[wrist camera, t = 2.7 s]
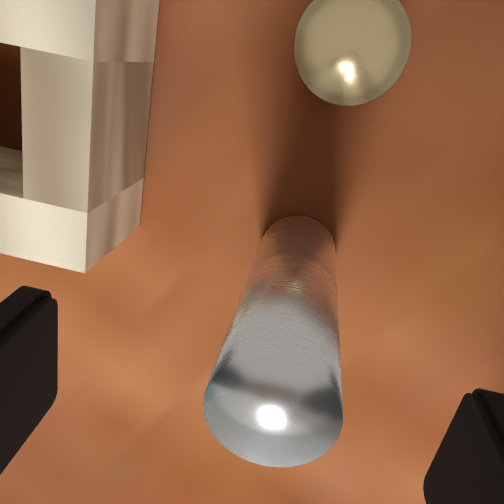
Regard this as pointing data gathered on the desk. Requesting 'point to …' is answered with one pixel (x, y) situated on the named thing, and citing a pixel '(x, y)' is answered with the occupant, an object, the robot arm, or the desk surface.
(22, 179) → the pin block
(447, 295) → the desk surface
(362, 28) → the short pin
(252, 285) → the tall pin
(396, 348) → the desk surface
